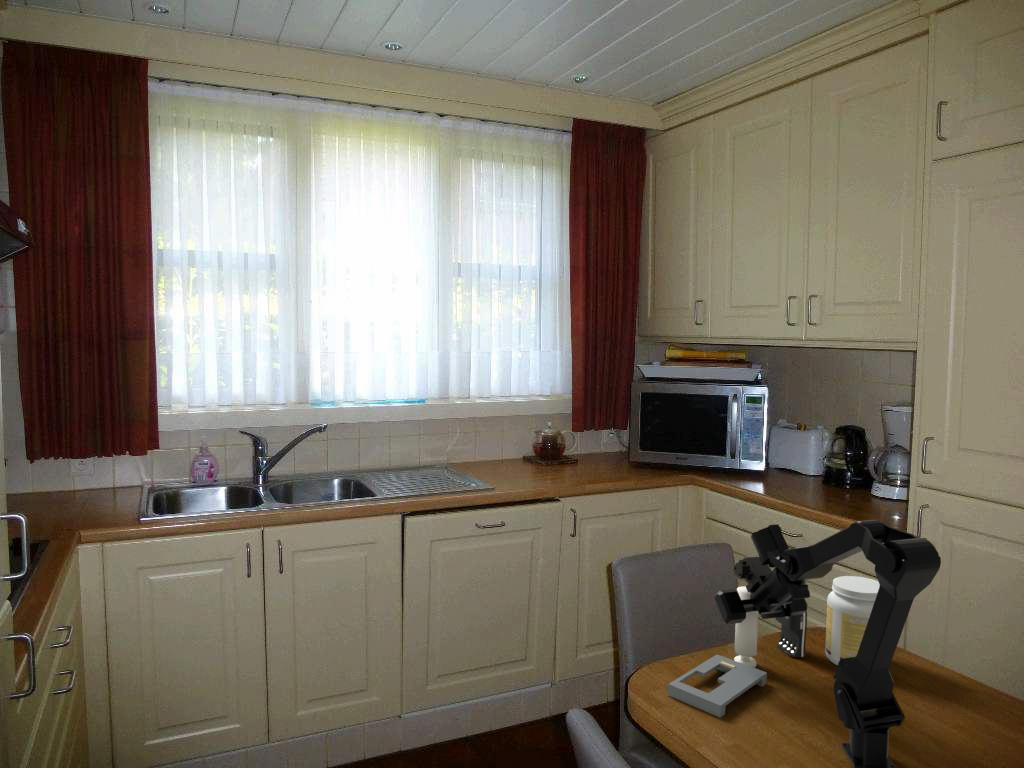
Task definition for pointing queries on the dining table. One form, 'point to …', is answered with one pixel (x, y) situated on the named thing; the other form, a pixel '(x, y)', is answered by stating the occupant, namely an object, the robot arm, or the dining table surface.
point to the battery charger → (793, 634)
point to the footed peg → (746, 634)
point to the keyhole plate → (732, 686)
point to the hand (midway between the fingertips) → (743, 619)
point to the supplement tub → (848, 615)
